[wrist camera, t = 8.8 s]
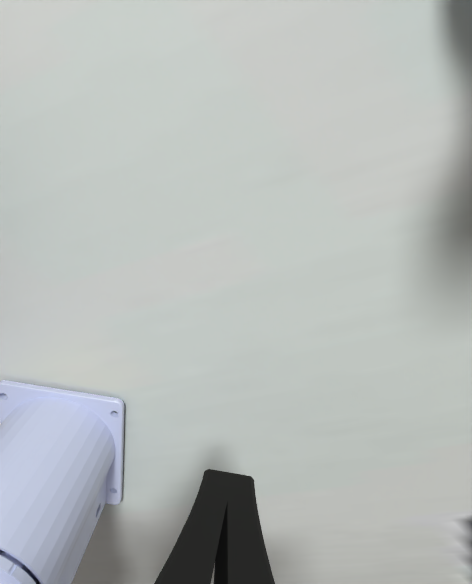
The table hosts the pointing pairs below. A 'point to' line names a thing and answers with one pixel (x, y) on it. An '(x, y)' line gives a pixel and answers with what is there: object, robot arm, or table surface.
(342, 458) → the table surface
